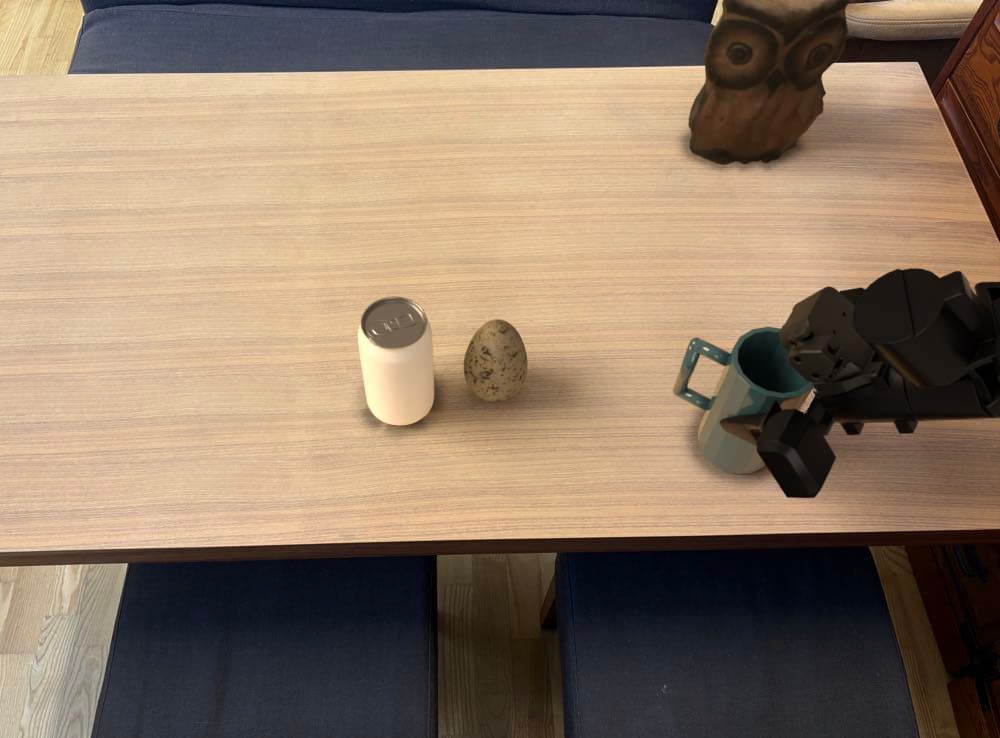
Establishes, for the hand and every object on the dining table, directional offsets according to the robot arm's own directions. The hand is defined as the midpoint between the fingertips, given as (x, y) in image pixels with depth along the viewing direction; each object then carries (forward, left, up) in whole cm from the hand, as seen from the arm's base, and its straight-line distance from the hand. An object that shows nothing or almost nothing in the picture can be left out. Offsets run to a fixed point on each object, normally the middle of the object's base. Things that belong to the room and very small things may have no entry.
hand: (739, 395), depth 74 cm
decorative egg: (+19, -10, -7) cm, 23 cm away
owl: (-20, -39, -7) cm, 44 cm away
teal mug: (0, 0, -7) cm, 7 cm away
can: (+28, -11, -7) cm, 31 cm away
